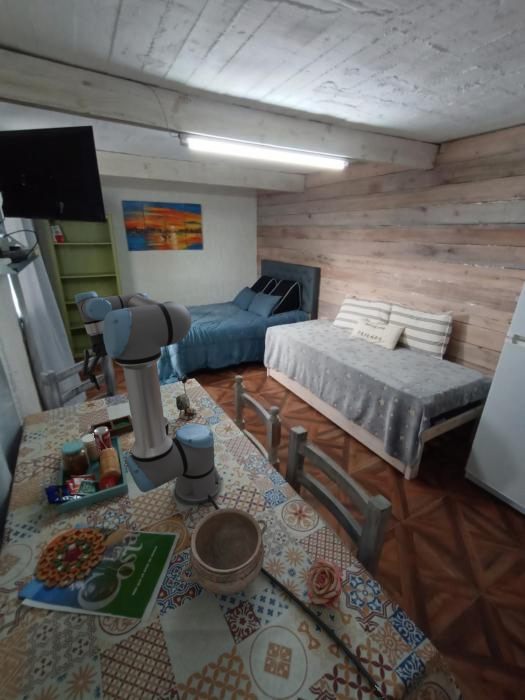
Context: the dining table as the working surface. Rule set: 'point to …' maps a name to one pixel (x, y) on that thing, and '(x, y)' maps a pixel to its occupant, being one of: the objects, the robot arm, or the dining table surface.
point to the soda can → (102, 439)
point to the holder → (116, 425)
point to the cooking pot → (226, 551)
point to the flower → (324, 582)
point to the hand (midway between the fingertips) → (116, 382)
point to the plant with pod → (184, 404)
